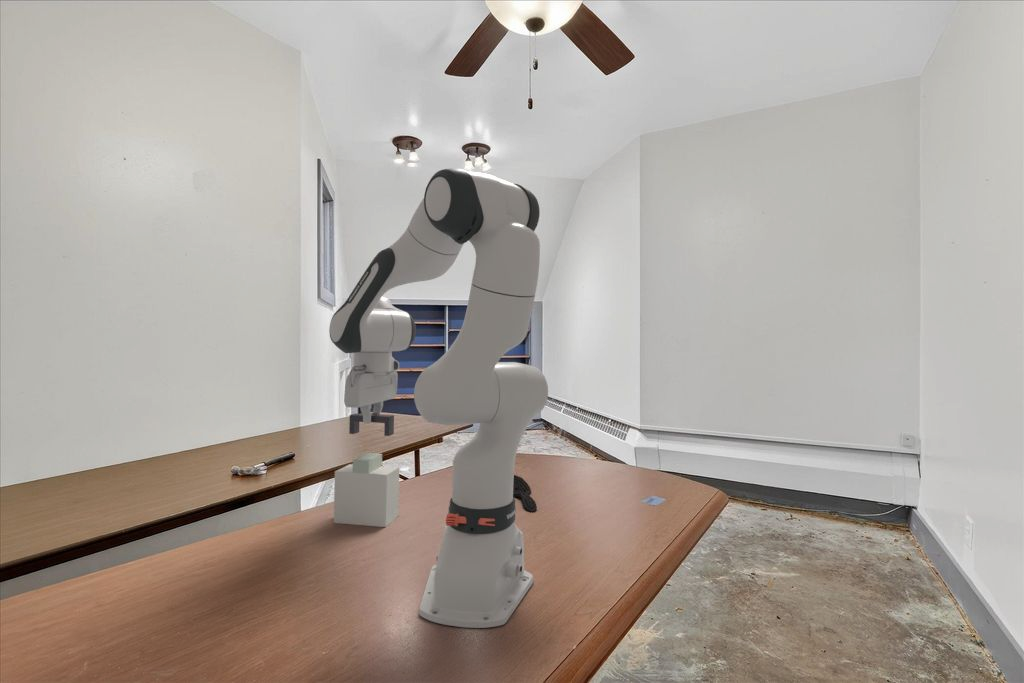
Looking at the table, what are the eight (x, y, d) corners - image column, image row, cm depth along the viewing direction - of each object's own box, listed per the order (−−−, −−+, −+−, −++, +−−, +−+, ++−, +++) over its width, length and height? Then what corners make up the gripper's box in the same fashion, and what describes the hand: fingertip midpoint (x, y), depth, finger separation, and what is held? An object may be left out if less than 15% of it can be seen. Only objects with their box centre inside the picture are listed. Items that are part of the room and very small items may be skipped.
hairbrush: (517, 504, 118) (498, 472, 143) (516, 518, 118) (498, 484, 143) (548, 502, 120) (525, 471, 144) (548, 516, 120) (524, 483, 144)
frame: (393, 433, 114) (393, 415, 114) (389, 435, 111) (389, 416, 111) (354, 431, 115) (354, 413, 115) (349, 433, 113) (349, 415, 113)
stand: (398, 516, 115) (399, 454, 115) (385, 527, 108) (387, 461, 108) (349, 512, 117) (350, 452, 117) (333, 522, 110) (334, 458, 110)
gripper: (363, 366, 103) (362, 430, 102) (402, 363, 123) (401, 416, 123) (337, 365, 104) (336, 428, 104) (379, 362, 124) (378, 415, 124)
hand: (371, 421), depth 113 cm, fingers closed on frame, 2 cm apart
